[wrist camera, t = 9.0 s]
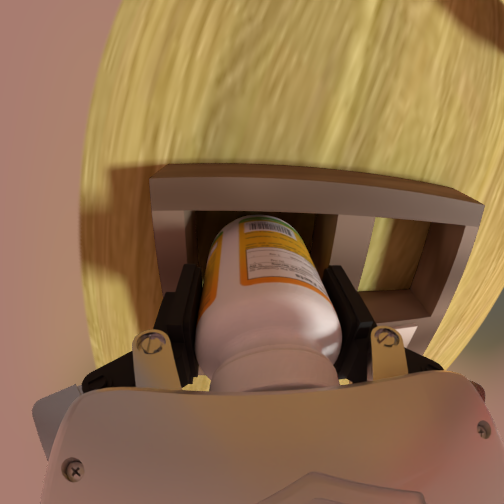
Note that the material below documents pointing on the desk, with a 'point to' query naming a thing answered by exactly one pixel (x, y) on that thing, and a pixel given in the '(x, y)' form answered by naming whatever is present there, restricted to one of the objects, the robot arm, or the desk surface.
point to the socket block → (327, 228)
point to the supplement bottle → (265, 312)
